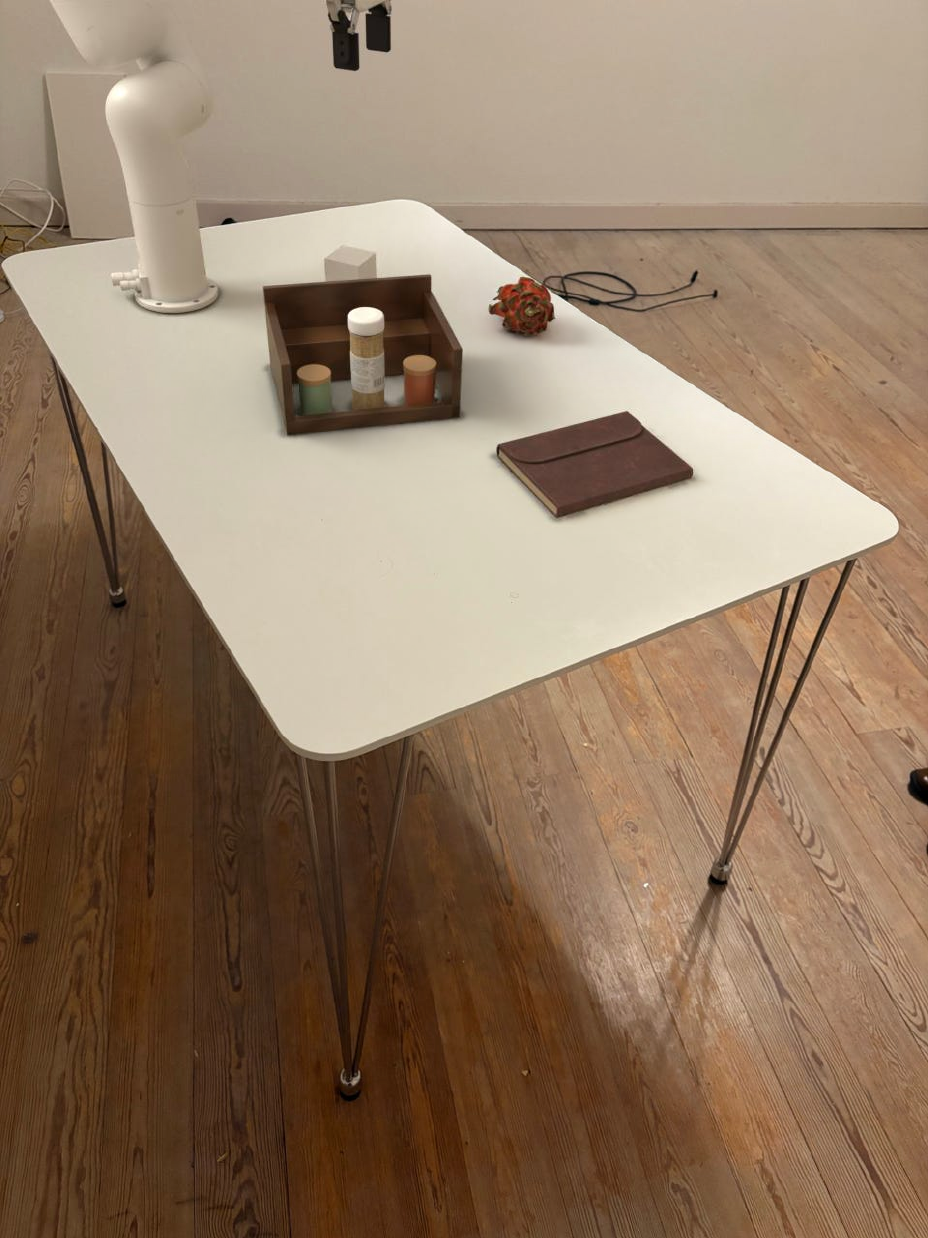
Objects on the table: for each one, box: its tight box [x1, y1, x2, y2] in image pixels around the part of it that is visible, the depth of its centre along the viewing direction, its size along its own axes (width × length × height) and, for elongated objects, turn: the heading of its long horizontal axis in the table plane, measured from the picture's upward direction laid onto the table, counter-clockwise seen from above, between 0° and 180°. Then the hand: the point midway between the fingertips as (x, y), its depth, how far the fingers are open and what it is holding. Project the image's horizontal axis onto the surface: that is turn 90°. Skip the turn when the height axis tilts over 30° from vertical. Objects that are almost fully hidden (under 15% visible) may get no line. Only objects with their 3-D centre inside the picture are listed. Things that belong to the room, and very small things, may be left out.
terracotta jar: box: [403, 355, 436, 405], centre depth 136 cm, size 4×4×6 cm
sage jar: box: [297, 364, 333, 416], centre depth 133 cm, size 4×4×6 cm
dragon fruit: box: [487, 276, 556, 337], centre depth 153 cm, size 8×8×12 cm
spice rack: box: [262, 273, 464, 436], centre depth 135 cm, size 23×18×12 cm
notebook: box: [495, 410, 694, 519], centre depth 127 cm, size 15×20×2 cm
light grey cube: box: [323, 244, 378, 282], centre depth 160 cm, size 6×6×6 cm
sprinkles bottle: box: [348, 307, 386, 410], centre depth 132 cm, size 5×5×13 cm
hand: (363, 59), depth 126 cm, fingers open, 9 cm apart
